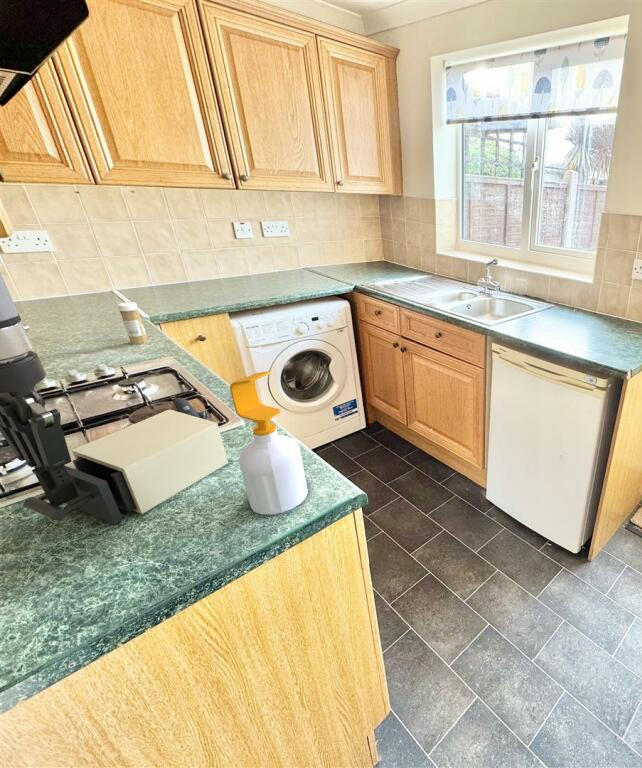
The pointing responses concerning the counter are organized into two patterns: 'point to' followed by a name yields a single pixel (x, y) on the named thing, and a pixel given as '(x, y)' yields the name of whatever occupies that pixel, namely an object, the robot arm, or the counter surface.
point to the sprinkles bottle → (132, 323)
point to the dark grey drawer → (91, 493)
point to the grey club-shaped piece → (188, 409)
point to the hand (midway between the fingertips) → (65, 500)
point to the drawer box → (159, 455)
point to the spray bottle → (267, 455)
